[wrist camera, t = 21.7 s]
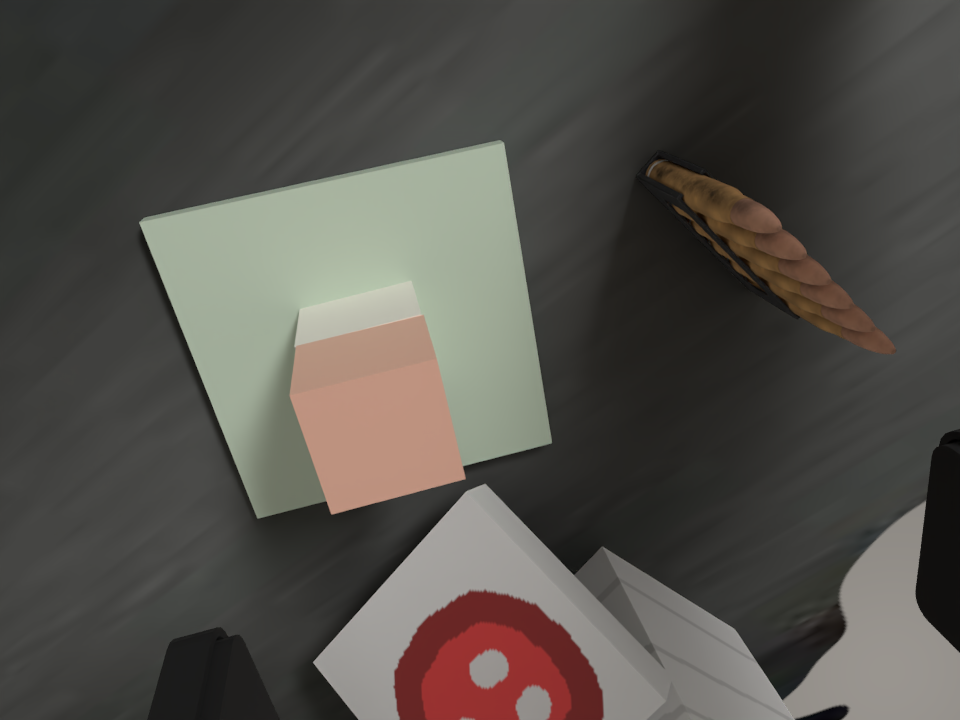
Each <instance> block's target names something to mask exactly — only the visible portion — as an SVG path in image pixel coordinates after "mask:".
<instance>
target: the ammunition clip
mask: <svg viewBox="0 0 960 720" xmlns="http://www.w3.org/2000/svg"><path fill="white" fill-rule="evenodd" d="M636 178H637V179H638V180H639V181H640V182H641V183H642V184H643V185H644V186H645V187H646V188H647V189H648V190H649V191H650V192H651V193H652V194H653V195H654V196H655V197H656V198H657V199H658V200H659V201H660V202H661V203H662V204H663V205H664V206H665V207H666V208H667V209H668V210H669V211H670V212H671V213H672V214H673V215H674V216H675V217H676V218H677V219H678V220H679V221H680V222H681V223H682V224H683V225H684V226H685V227H686V228H687V229H688V230H689V231H690V232H691V233H692V234H693V235H694V236H695V237H696V238H697V239H698V240H699V241H700V242H701V243H702V244H703V245H705V246H706V247H707V248H708V249H709V250H710V251H711V252H712V253H713V254H714V255H715V256H716V257H717V258H718V259H719V260H720V261H721V262H722V263H723V264H724V265H725V266H726V267H727V268H728V269H729V270H730V271H731V272H732V273H733V274H734V275H735V276H736V277H737V278H738V279H739V280H740V281H741V282H742V283H743V284H744V285H745V286H746V287H747V288H748V289H749V290H750V291H752V292H753V293H755V294H757V295H758V296H760V297H762V298H763V299H765V300H766V301H768V302H770V303H771V304H773V305H775V306H776V307H778V308H779V309H781V310H783V311H784V312H786V313H787V314H789V315H791V316H792V317H794V318H796V319H799V318H800V317H801V318H803V319H805V320H806V321H808V322H810V323H811V324H813V325H815V326H816V327H818V328H820V329H821V330H824V331H827V332H830V333H833V334H836V335H838V336H840V337H841V338H843V339H846V340H848V341H850V342H852V343H853V344H855V345H858V346H860V347H862V348H865V349H867V350H870V351H873V352H877V353H881V354H894V353H895V352H896V349H895V347H894V345H893V343H892V342H891V341H890V340H889V339H888V337H887V336H886V335H885V334H884V333H883V332H882V331H880V330H879V329H878V328H877V327H875V326H874V323H873V322H872V320H871V319H870V318H869V317H868V316H867V315H866V314H865V313H864V312H863V311H862V310H861V309H860V308H859V307H858V306H856V305H855V304H853V301H852V299H851V298H850V296H849V295H848V294H847V293H846V292H845V291H844V290H843V289H842V288H841V287H840V286H839V285H838V284H836V283H835V282H834V281H832V280H831V278H830V275H829V274H828V272H827V271H826V270H825V269H824V268H823V267H822V266H821V265H820V264H819V263H818V262H817V261H815V260H814V259H813V258H811V257H810V256H808V255H807V252H806V249H805V248H804V246H803V245H802V244H801V243H800V242H799V241H798V240H797V239H796V238H795V237H794V236H793V235H791V234H790V233H788V232H787V231H785V230H783V229H782V225H781V222H780V220H779V219H778V218H777V217H776V216H775V214H774V213H773V212H771V211H770V210H769V209H768V208H766V207H765V206H763V205H762V204H760V203H757V202H755V201H753V200H752V199H750V198H748V197H747V196H745V195H743V194H742V193H741V192H740V191H739V190H738V189H736V188H734V187H732V186H730V185H727V184H725V183H722V182H720V181H717V180H715V179H714V178H713V177H712V175H711V174H710V173H709V172H708V171H707V170H706V169H704V168H701V167H699V166H697V165H694V164H692V163H689V162H687V161H684V160H682V159H680V158H677V157H675V156H672V155H670V154H668V153H665V152H663V151H660V150H659V151H658V152H657V153H656V154H655V155H654V156H653V157H652V158H651V159H650V161H649V162H648V163H647V164H646V165H645V166H644V167H643V168H642V170H641V171H640V172H639V173H638V174H637V175H636Z"/></svg>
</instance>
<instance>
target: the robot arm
mask: <svg viewBox="0 0 960 720" xmlns="http://www.w3.org/2000/svg"><path fill="white" fill-rule="evenodd" d="M916 599H917V603H918V606H919V608H920V610H921V612H922V613H923V615H924V617H925V618H926V619H927V620H928V621H929V622H930V623H931V624H932V625H933V626H934V627H935V628H936V629H937V630H938V631H939V632H940V633H941V634H942V635H943V636H944V637H945V638H946V639H947V640H948V641H949V642H950V643H951V644H952V645H953V646H954V647H955V648H956V649H957V650H958V651H959V652H960V429H958V430H955V431H951V432H948V433H946V434H945V435H944V436H943V437H942V438H941V441H940V444H939V447H936V448H935V450H934V451H933V454H932V459H931V467H930V476H929V484H928V492H927V500H926V509H925V517H924V525H923V534H922V542H921V551H920V559H919V568H918V575H917V583H916ZM148 720H280V719H279V717H278V715H277V713H276V711H275V708H274V706H273V704H272V702H271V700H270V697H269V695H268V693H267V691H266V689H265V686H264V684H263V682H262V680H261V678H260V675H259V673H258V671H257V669H256V666H255V664H254V662H253V660H252V658H251V655H250V653H249V651H248V649H247V647H246V644H245V642H244V640H243V639H242V637H241V636H240V635H235V636H231V637H228V636H227V634H226V632H225V631H224V630H223V629H222V628H221V627H220V628H214V629H210V630H206V631H203V632H199V633H195V634H192V635H188V636H184V637H180V638H177V639H173V640H172V641H171V642H170V644H169V646H168V649H167V651H166V655H165V659H164V662H163V666H162V669H161V673H160V677H159V680H158V684H157V687H156V691H155V695H154V698H153V702H152V705H151V709H150V713H149V716H148Z"/></svg>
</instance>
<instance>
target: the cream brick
mask: <svg viewBox="0 0 960 720" xmlns="http://www.w3.org/2000/svg"><path fill="white" fill-rule="evenodd" d="M421 315H422V314H421V311H420V307H419V304H418V301H417V297H416V294H415V290H414V287H413V284H412V281H408V282H404V283H400V284H396V285H392V286H388V287H384V288H380V289H376V290H373V291H369V292H365V293H361V294H357V295H353V296H349V297H345V298H341V299H337V300H333V301H329V302H325V303H322V304H318V305H314V306H310V307H306V308H302V309H300V310H299V317H298V324H297V331H296V339H295V346H294V347H295V350H296V346H298V345H302V344H306V343H310V342H314V341H318V340H323V339H327V338H331V337H335V336H339V335H343V334H347V333H351V332H355V331H359V330H363V329H367V328H372V327H376V326H380V325H384V324H388V323H392V322H396V321H400V320H404V319H408V318H412V317H416V316H421Z"/></svg>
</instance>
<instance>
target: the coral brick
mask: <svg viewBox="0 0 960 720" xmlns="http://www.w3.org/2000/svg"><path fill="white" fill-rule="evenodd" d="M289 396H290V399H291V401H292V404H293V407H294V410H295V413H296V416H297V418H298V421H299V424H300V427H301V430H302V433H303V435H304V438H305V441H306V444H307V447H308V450H309V452H310V455H311V458H312V461H313V464H314V467H315V470H316V472H317V475H318V478H319V481H320V484H321V487H322V489H323V492H324V495H325V498H326V501H327V504H328V506H329V509H330V512H331V515H332V514H336V513H339V512H343V511H347V510H351V509H354V508H358V507H362V506H366V505H370V504H373V503H377V502H381V501H385V500H388V499H392V498H396V497H400V496H403V495H407V494H411V493H415V492H419V491H422V490H426V489H430V488H434V487H437V486H441V485H445V484H449V483H453V482H456V481H460V480H464V479H466V478H465V474H464V469H463V465H462V461H461V457H460V453H459V449H458V444H457V440H456V436H455V432H454V428H453V424H452V420H451V415H450V411H449V407H448V403H447V399H446V395H445V390H444V386H443V382H442V378H441V374H440V370H439V366H438V361H437V358H436V354H435V351H434V348H433V344H432V341H431V338H430V334H429V331H428V328H427V324H426V321H425V318H424V315H421V316H416V317H412V318H408V319H404V320H400V321H396V322H392V323H388V324H384V325H380V326H376V327H372V328H367V329H363V330H359V331H355V332H351V333H347V334H343V335H339V336H335V337H331V338H327V339H323V340H318V341H314V342H310V343H306V344H302V345H298V346H296V351H295V358H294V366H293V373H292V380H291V388H290V395H289Z"/></svg>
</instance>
